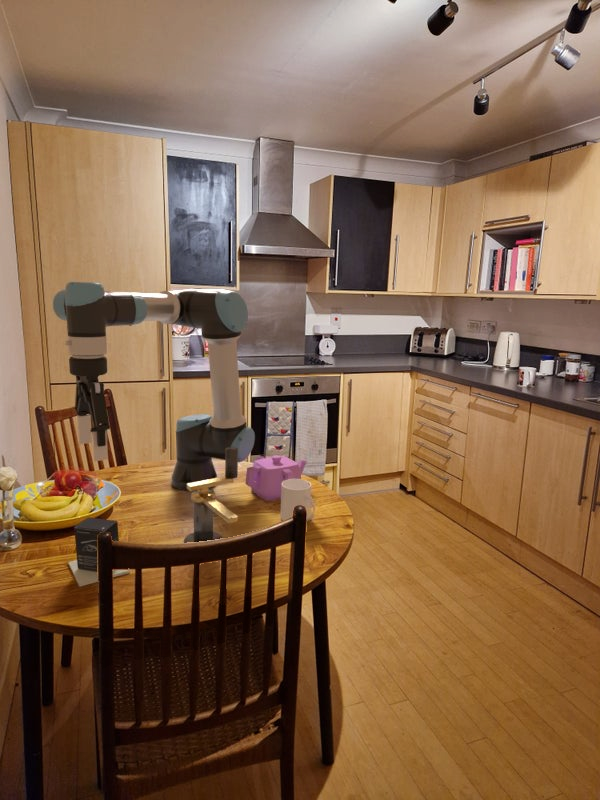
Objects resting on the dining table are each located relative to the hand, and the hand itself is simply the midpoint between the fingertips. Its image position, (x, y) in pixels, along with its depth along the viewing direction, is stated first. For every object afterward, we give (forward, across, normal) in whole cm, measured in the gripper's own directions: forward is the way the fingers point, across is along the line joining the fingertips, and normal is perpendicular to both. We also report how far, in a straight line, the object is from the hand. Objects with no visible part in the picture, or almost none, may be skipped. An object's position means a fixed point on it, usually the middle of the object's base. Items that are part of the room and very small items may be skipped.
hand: (92, 451), depth 114 cm
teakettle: (+29, -19, +61) cm, 70 cm away
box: (+28, 0, 0) cm, 28 cm away
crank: (+16, +7, +29) cm, 34 cm away
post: (+29, +1, +26) cm, 39 cm away
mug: (+29, +3, +55) cm, 62 cm away
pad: (+29, 0, 0) cm, 29 cm away
